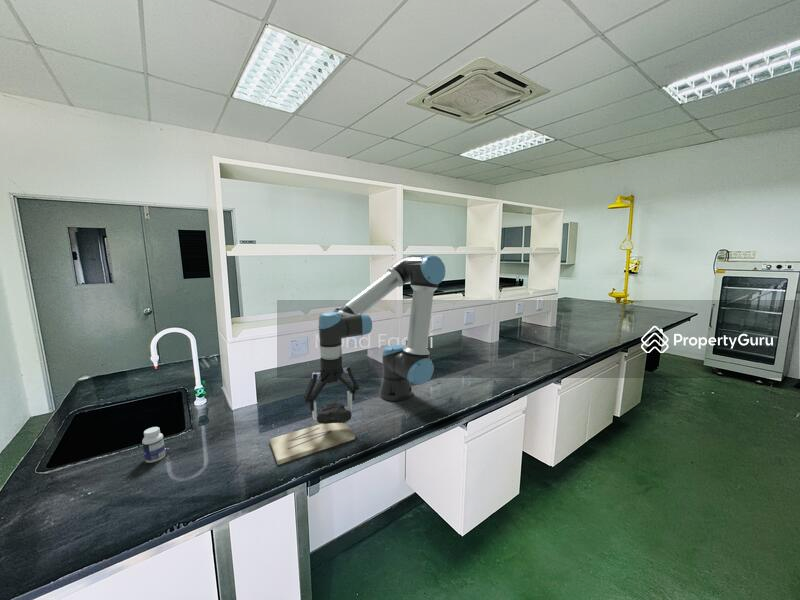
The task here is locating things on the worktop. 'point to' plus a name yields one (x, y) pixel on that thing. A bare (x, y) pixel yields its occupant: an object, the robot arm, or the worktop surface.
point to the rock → (334, 414)
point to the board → (309, 441)
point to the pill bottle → (153, 445)
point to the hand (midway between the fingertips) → (332, 413)
